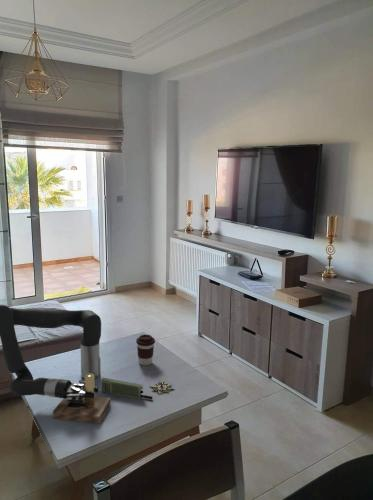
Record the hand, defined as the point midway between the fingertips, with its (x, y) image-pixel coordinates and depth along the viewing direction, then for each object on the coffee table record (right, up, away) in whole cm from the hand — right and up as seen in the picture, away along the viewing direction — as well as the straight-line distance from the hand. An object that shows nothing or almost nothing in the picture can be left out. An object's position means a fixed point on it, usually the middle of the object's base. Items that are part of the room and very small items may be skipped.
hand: (95, 392), depth 170 cm
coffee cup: (+16, -1, +49) cm, 51 cm away
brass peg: (-3, -9, +2) cm, 10 cm away
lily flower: (+27, -7, +23) cm, 36 cm away
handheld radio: (+11, -8, +16) cm, 21 cm away
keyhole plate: (-6, -9, +3) cm, 11 cm away
